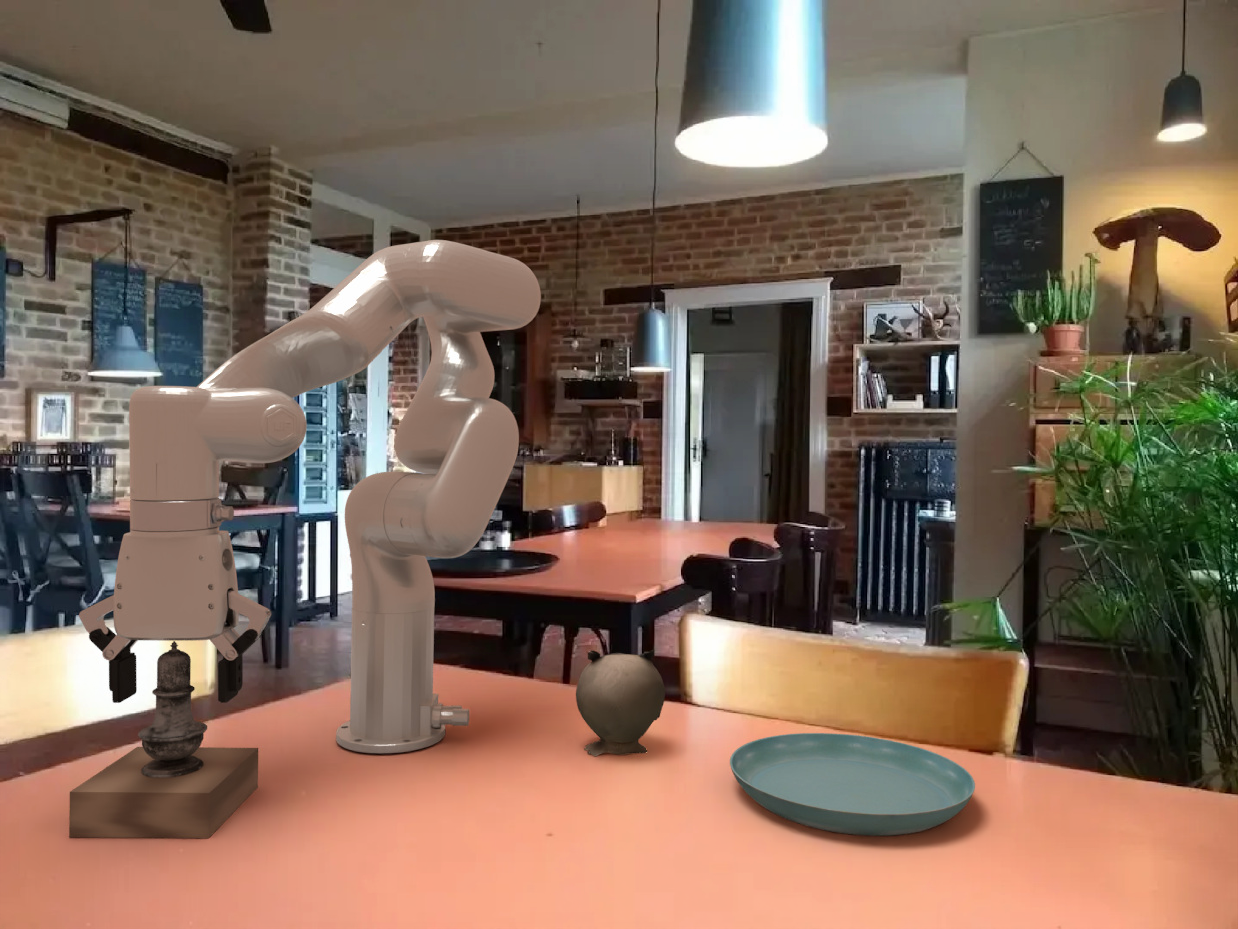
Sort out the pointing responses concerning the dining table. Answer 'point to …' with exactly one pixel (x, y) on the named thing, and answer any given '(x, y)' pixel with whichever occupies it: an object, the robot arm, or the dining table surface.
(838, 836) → the dining table surface
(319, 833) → the dining table surface
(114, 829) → the brown flat wooden block
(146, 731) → the salt shaker
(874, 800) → the teal plate
